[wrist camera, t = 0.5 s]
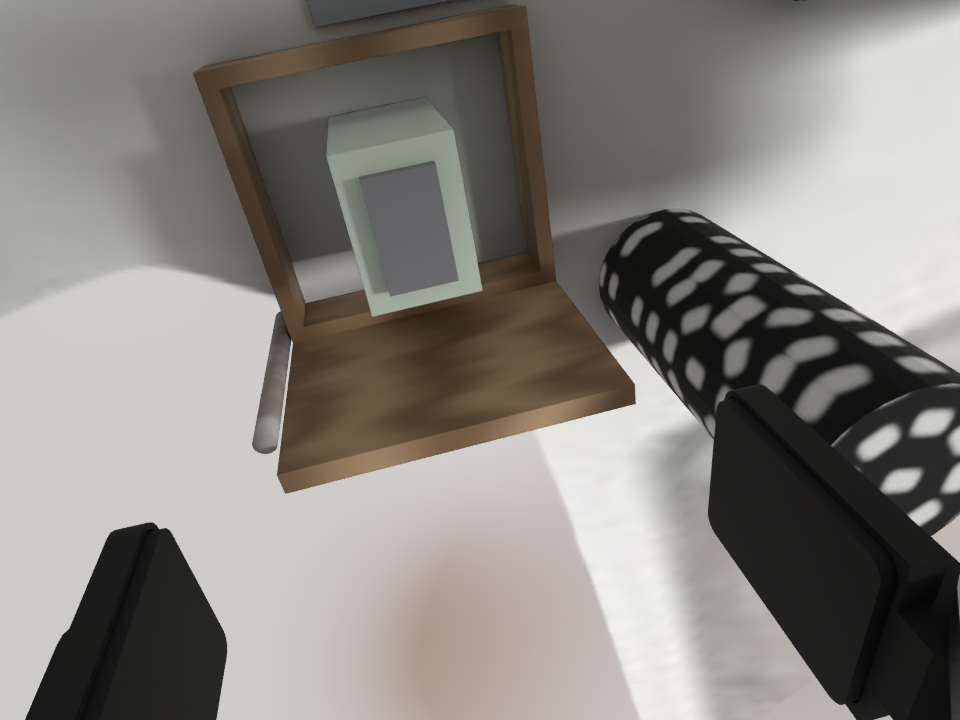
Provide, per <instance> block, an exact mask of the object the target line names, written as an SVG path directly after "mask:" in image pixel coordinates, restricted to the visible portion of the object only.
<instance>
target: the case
mask: <svg viewBox="0 0 960 720" xmlns="http://www.w3.org/2000/svg"><path fill="white" fill-rule="evenodd" d="M497 32H498V39H499V47H500V54H501V62H502V69H503V77H504V84H505V92H506V99H507V107H508V114H509V122H510V129H511V137H512V144H513V152H514V159H515V167H516V174H517V181H518V189H519V196H520V204H521V211H522V219H523V226H524V234H525V241H526V249H527V252H526V253H522V254H517V255H513V256H509V257H504V258H500V259H496V260H492V261H487V262H483V263H479V264H478V268H479V274H480V279H481V285H482V291H479V292H475V293H470V294H466V295H462V296H458V297H453V298H449V299H445V300H441V301H437V302H432V303H428V304H424V305H420V306H415V307H411V308H407V309H403V310H399V311H394V312H390V313H386V314H382V315H377V316H373V317H372V314H371V310H370V307H369V303H368V300H367V296H366V293H365V290H363V291H359V292H354V293H350V294H346V295H341V296H337V297H333V298H328V299H324V300H320V301H316V302H311V303H307V304H306V303H305V301H304V298H303V295H302V292H301V289H300V286H299V283H298V280H297V277H296V274H295V272H294V269H293V266H292V263H291V260H290V257H289V254H288V251H287V248H286V246H285V243H284V240H283V237H282V234H281V231H280V228H279V225H278V222H277V219H276V217H275V214H274V211H273V208H272V205H271V202H270V199H269V196H268V193H267V190H266V188H265V185H264V182H263V179H262V176H261V173H260V170H259V167H258V164H257V162H256V159H255V156H254V153H253V150H252V147H251V144H250V141H249V138H248V135H247V133H246V130H245V127H244V124H243V121H242V118H241V115H240V112H239V109H238V106H237V104H236V101H235V98H234V95H233V92H232V89H231V86H236V85H240V84H245V83H250V82H255V81H260V80H265V79H270V78H275V77H280V76H285V75H290V74H295V73H300V72H304V71H309V70H314V69H319V68H324V67H329V66H334V65H339V64H344V63H349V62H354V61H359V60H364V59H368V58H373V57H378V56H383V55H388V54H393V53H398V52H403V51H408V50H413V49H418V48H423V47H428V46H432V45H437V44H442V43H447V42H452V41H457V40H462V39H467V38H472V37H477V36H482V35H487V34H492V33H497ZM193 74H194V77H195V80H196V82H197V85H198V88H199V91H200V93H201V96H202V99H203V101H204V104H205V107H206V109H207V112H208V115H209V118H210V120H211V123H212V126H213V128H214V131H215V134H216V136H217V139H218V142H219V145H220V147H221V150H222V153H223V155H224V158H225V161H226V163H227V166H228V169H229V172H230V174H231V177H232V180H233V182H234V185H235V188H236V190H237V193H238V196H239V199H240V201H241V204H242V207H243V209H244V212H245V215H246V217H247V220H248V223H249V226H250V228H251V231H252V234H253V236H254V239H255V242H256V244H257V247H258V250H259V253H260V255H261V258H262V261H263V263H264V266H265V269H266V271H267V274H268V277H269V280H270V282H271V285H272V288H273V290H274V293H275V296H276V298H277V301H278V304H279V306H280V309H281V312H279V313H278V314H277V315H276V319H275V324H274V329H273V335H272V340H271V346H270V351H269V356H268V362H267V367H266V372H265V378H264V383H263V389H262V394H261V399H260V405H259V410H258V416H257V421H256V426H255V432H254V438H253V442H252V446H253V448H254V450H255V451H257V452H259V453H262V454H269V453H272V452H273V451H275V450H276V448H277V445H278V437H279V430H280V422H281V414H282V406H283V399H284V391H285V383H286V376H287V368H288V360H289V352H290V345H291V339H292V342H293V349H292V358H291V366H290V374H289V382H288V390H287V398H286V406H285V415H284V423H283V432H282V439H281V447H280V455H279V464H278V472H277V476H278V478H279V481H280V483H281V485H282V487H283V490H284V492H285V493H290V492H293V491H298V490H302V489H306V488H310V487H313V486H317V485H321V484H325V483H329V482H333V481H337V480H341V479H345V478H349V477H352V476H356V475H360V474H364V473H368V472H372V471H376V470H380V469H384V468H387V467H391V466H395V465H399V464H403V463H407V462H411V461H415V460H419V459H422V458H426V457H430V456H434V455H438V454H442V453H446V452H450V451H453V450H457V449H461V448H465V447H469V446H473V445H477V444H481V443H485V442H489V441H492V440H496V439H500V438H504V437H508V436H512V435H516V434H519V433H524V432H527V431H532V430H535V429H539V428H543V427H547V426H551V425H555V424H559V423H563V422H567V421H571V420H574V419H578V418H582V417H586V416H590V415H594V414H598V413H602V412H606V411H609V410H613V409H617V408H621V407H625V406H629V405H633V404H636V402H635V384H634V383H633V381H632V380H631V379H630V377H629V376H628V375H627V373H626V372H625V371H624V370H623V368H622V367H621V366H620V364H619V363H618V362H617V360H616V359H615V358H614V356H613V355H612V354H611V352H610V351H609V350H608V348H607V347H606V346H605V345H604V343H603V342H602V341H601V339H600V338H599V337H598V335H597V334H596V333H595V331H594V330H593V329H592V327H591V326H590V325H589V323H588V322H587V321H586V320H585V318H584V317H583V316H582V314H581V313H580V312H579V310H578V309H577V308H576V306H575V305H574V304H573V302H572V301H571V300H570V298H569V297H568V296H567V295H566V293H565V292H564V291H563V289H562V288H561V287H560V285H559V284H558V283H557V281H556V275H555V266H554V257H553V247H552V238H551V229H550V220H549V211H548V202H547V193H546V184H545V175H544V166H543V157H542V148H541V139H540V130H539V121H538V112H537V103H536V94H535V85H534V76H533V67H532V57H531V48H530V39H529V30H528V21H527V12H526V6H517V5H508V6H503V7H498V8H493V9H488V10H483V11H478V12H473V13H468V14H463V15H458V16H453V17H448V18H443V19H438V20H433V21H428V22H423V23H418V24H413V25H408V26H403V27H398V28H393V29H388V30H383V31H378V32H373V33H368V34H363V35H358V36H353V37H348V38H343V39H338V40H333V41H328V42H323V43H318V44H313V45H308V46H303V47H298V48H293V49H288V50H283V51H278V52H273V53H268V54H262V55H257V56H252V57H247V58H242V59H237V60H232V61H227V62H222V63H217V64H212V65H207V66H204V67H202V68H201V69H199V70H197V71H195V72H194V73H193Z"/></svg>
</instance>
